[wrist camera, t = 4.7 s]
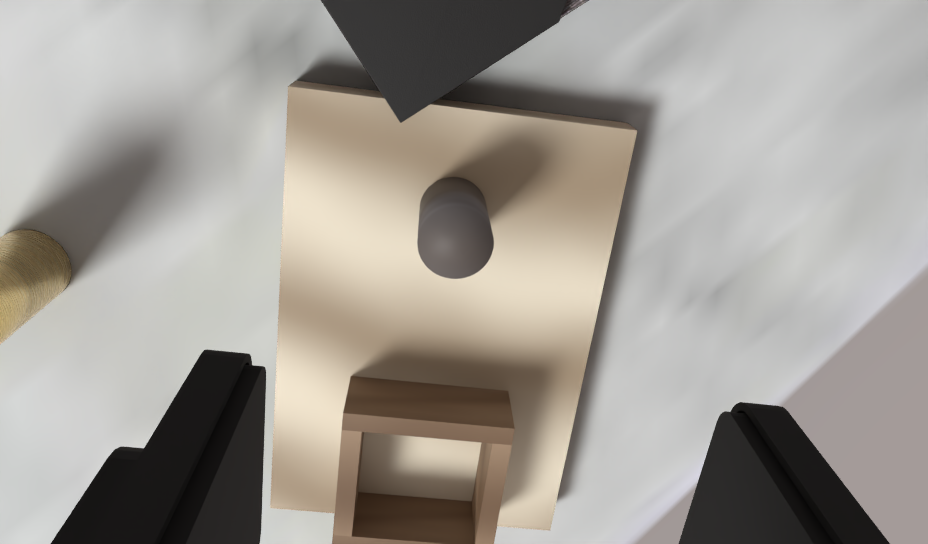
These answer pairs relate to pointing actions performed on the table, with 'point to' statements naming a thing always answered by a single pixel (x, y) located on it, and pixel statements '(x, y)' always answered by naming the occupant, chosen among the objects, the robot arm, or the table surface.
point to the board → (436, 310)
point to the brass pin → (29, 276)
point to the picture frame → (437, 41)
